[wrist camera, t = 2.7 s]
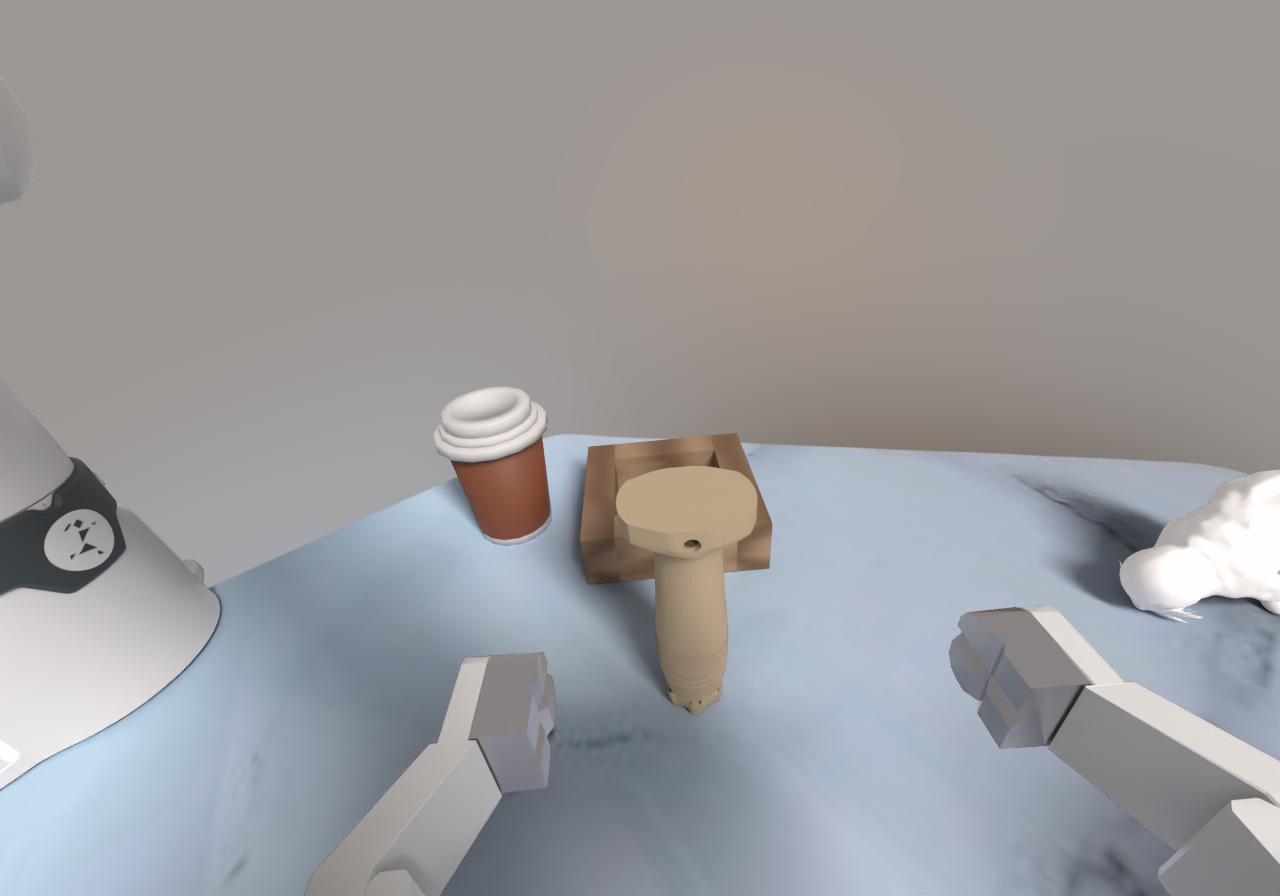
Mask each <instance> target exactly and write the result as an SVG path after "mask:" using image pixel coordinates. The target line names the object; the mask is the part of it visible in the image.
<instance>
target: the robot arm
mask: <svg viewBox="0 0 1280 896" xmlns="http://www.w3.org/2000/svg"><path fill="white" fill-rule="evenodd" d="M35 157H36V152H35V145H34V138H33V135H32V132H31V128H30V125H29V122H28V120H27V117H26V115H25V113H24V111H23V109H22V107H21V105H20V103H19V101H18V100H17V98H16V96H15V95H14V93H13V92H12V90H11V89H10V87H9V86H8V84H7V83H6V82H5V80H4V79H3V78H2V76H1V75H0V207H1V206H4V205H7V204H10V203H14V202H17V201H20V200H22V199H23V197H24V196H25V194H26V193H27V191H28V189H29V187H30V184H31V182H32V179H33V175H34V171H35V161H36V158H35ZM104 485H105V484H104V483H103V481H102V480H101V479H100V478H99V477H98V475H97V474H96V473H92V471H91V470H90V469H89V468H88V467H87V466H86V465H85V464H84V463H83V462H82V461H81V460H79V459H77V458H72V457H68V456H67V454H66V453H65V452H64V451H63V449H62V448H61V447H60V446H59V445H58V443H57V442H56V441H55V440H54V438H53V437H52V436H51V435H50V434H49V432H48V431H47V430H46V428H45V427H44V426H43V425H42V424H41V422H40V421H39V420H38V419H37V417H36V416H35V415H34V414H33V412H32V411H31V410H30V409H29V407H28V406H27V405H26V404H25V402H24V401H23V400H22V399H21V398H20V396H19V395H18V394H17V393H16V391H15V390H14V389H13V388H12V386H11V385H10V384H9V383H8V381H7V380H6V379H5V378H4V376H3V375H2V374H1V373H0V789H1V788H3V787H4V786H6V785H7V784H9V783H10V782H12V781H13V780H15V779H16V778H17V777H19V776H20V775H22V774H23V773H25V772H26V771H27V770H29V769H30V768H32V767H33V766H35V765H36V764H37V763H39V762H41V761H43V760H44V759H46V758H48V757H50V756H52V755H54V754H56V753H57V752H59V751H62V750H64V749H66V748H68V747H70V746H72V745H74V744H76V743H78V742H80V741H82V740H84V739H86V738H88V737H90V736H92V735H94V734H96V733H97V732H99V731H101V730H103V729H105V728H106V727H108V726H110V725H111V724H113V723H115V722H116V721H118V720H120V719H121V718H123V717H124V716H126V715H127V714H129V713H130V712H132V711H133V710H135V709H136V708H138V707H139V706H141V705H142V704H143V703H145V702H146V701H147V700H149V699H150V698H151V697H153V696H154V695H155V694H156V693H158V692H159V691H160V690H161V689H163V688H164V687H165V686H166V685H167V684H169V683H170V682H171V681H172V680H173V679H174V678H175V677H176V676H177V675H178V674H180V673H181V672H182V671H183V670H184V669H185V668H186V667H187V666H188V665H189V664H190V662H191V661H192V660H193V659H194V658H195V657H196V656H197V654H198V653H199V652H200V651H201V650H202V648H203V647H204V646H205V644H206V643H207V641H208V640H209V638H210V637H211V635H212V633H213V631H214V629H215V627H216V625H217V622H218V619H219V615H220V603H219V600H218V598H217V596H216V595H215V594H214V593H213V592H212V591H210V590H209V589H208V588H207V587H206V586H205V585H204V584H203V582H204V570H203V568H202V567H201V566H200V565H199V564H198V563H197V562H196V561H194V560H185V561H182V560H181V559H180V558H179V557H178V556H177V555H176V554H175V553H174V552H173V551H172V550H171V549H170V548H169V547H168V546H167V545H166V544H165V543H164V542H163V541H162V540H161V538H160V537H158V536H157V535H156V534H155V533H154V532H153V531H152V530H151V529H150V528H149V527H148V526H147V525H146V524H145V523H144V522H143V521H142V520H141V519H140V518H139V517H138V516H137V515H136V514H135V513H134V512H133V511H131V510H129V509H127V508H119V507H117V503H116V501H115V499H114V498H113V497H112V496H111V494H110V493H109V492H108V491H107V489H106V488H105V487H104ZM958 627H959V628H960V630H961V631H962V633H961V634H960V635H958V636H957V637H956V638H955V639H953V640H952V643H951V646H950V650H949V656H950V663H951V668H952V670H953V673H954V675H955V678H956V679H957V681H958V683H959V684H960V686H961V688H962V689H963V691H965V692H966V693H968V694H969V695H971V696H972V697H973V698H975V699H976V700H978V711H977V713H978V715H979V717H980V718H981V720H982V721H983V723H984V724H985V726H986V728H987V729H988V731H989V732H990V734H991V736H992V737H993V739H994V740H995V742H996V744H997V745H998V747H999V748H1000V749H1004V748H1021V747H1038V746H1049V747H1048V749H1049V750H1050V751H1051V752H1053V753H1054V754H1055V755H1056V756H1058V757H1059V758H1060V759H1061V760H1063V761H1064V762H1065V763H1066V764H1068V765H1069V766H1070V767H1071V768H1073V769H1074V770H1075V771H1076V772H1078V773H1079V774H1080V775H1081V776H1083V777H1084V778H1085V779H1086V780H1088V781H1089V782H1090V783H1091V784H1093V785H1094V786H1095V787H1096V788H1098V789H1099V790H1100V791H1101V792H1103V793H1104V794H1105V795H1106V796H1108V797H1109V798H1110V799H1111V800H1113V801H1114V802H1115V803H1116V804H1118V805H1119V806H1120V807H1121V808H1123V809H1124V810H1125V811H1126V812H1128V813H1129V814H1130V815H1131V816H1133V817H1134V818H1135V819H1136V820H1138V821H1139V822H1140V823H1141V824H1143V825H1144V826H1145V827H1146V828H1148V829H1149V830H1150V831H1151V832H1153V833H1154V834H1155V835H1156V836H1158V837H1159V838H1160V839H1161V840H1163V841H1164V842H1165V843H1166V844H1168V845H1169V846H1170V847H1171V848H1173V849H1174V850H1175V851H1176V853H1175V854H1174V855H1173V856H1172V857H1171V858H1170V859H1169V860H1168V861H1166V862H1165V863H1164V864H1163V865H1162V866H1161V867H1160V868H1159V873H1158V879H1159V880H1160V882H1161V883H1162V885H1163V886H1164V887H1165V889H1166V890H1167V892H1168V893H1169V894H1170V896H1280V761H1278V760H1276V759H1274V758H1272V757H1270V756H1269V755H1267V754H1265V753H1263V752H1261V751H1259V750H1258V749H1256V748H1254V747H1252V746H1250V745H1248V744H1247V743H1245V742H1243V741H1241V740H1239V739H1237V738H1236V737H1234V736H1232V735H1230V734H1228V733H1226V732H1225V731H1223V730H1221V729H1219V728H1217V727H1215V726H1214V725H1212V724H1210V723H1208V722H1206V721H1204V720H1203V719H1201V718H1199V717H1197V716H1195V715H1193V714H1192V713H1190V712H1188V711H1186V710H1184V709H1182V708H1181V707H1179V706H1177V705H1175V704H1173V703H1171V702H1170V701H1168V700H1166V699H1164V698H1162V697H1160V696H1159V695H1157V694H1155V693H1153V692H1151V691H1149V690H1148V689H1146V688H1144V687H1142V686H1140V685H1138V684H1137V683H1135V682H1124V681H1123V680H1122V679H1121V678H1120V677H1119V676H1118V675H1117V674H1116V672H1115V671H1114V670H1113V669H1112V668H1111V667H1110V666H1109V665H1108V664H1107V663H1106V662H1105V661H1104V660H1103V659H1102V657H1101V656H1100V655H1099V654H1098V653H1097V652H1096V651H1095V650H1094V649H1093V648H1092V647H1091V646H1090V645H1089V644H1088V643H1087V641H1086V640H1085V639H1084V638H1083V637H1082V636H1081V635H1080V634H1079V633H1078V632H1077V631H1076V630H1075V629H1074V628H1073V626H1072V625H1071V624H1070V623H1069V622H1068V621H1067V620H1066V619H1065V618H1064V617H1063V616H1062V615H1061V614H1060V613H1059V612H1058V611H1057V610H1056V609H1054V608H1053V607H1051V606H1049V605H1039V606H1030V607H1021V608H1017V607H1012V608H1003V609H994V610H984V611H975V612H967V613H965V614H964V615H962V616H961V617H960V620H959V623H958ZM546 670H547V660H546V657H545V654H544V652H537V653H522V654H508V655H493V656H492V655H491V656H480V657H468V658H465V660H464V661H463V663H462V665H461V666H460V669H459V672H458V675H457V679H456V682H455V685H454V689H453V692H452V695H451V699H450V702H449V705H448V709H447V712H446V715H445V719H444V722H443V725H442V729H441V732H440V735H439V739H438V742H437V743H433V744H429V745H428V746H427V747H426V748H425V749H424V750H423V751H422V753H421V754H420V755H419V756H418V757H417V758H416V759H415V760H414V762H413V763H412V764H411V765H410V766H409V767H408V768H407V769H406V770H405V772H404V773H403V774H402V775H401V776H400V777H399V778H398V779H397V781H396V782H395V783H394V784H393V785H392V786H391V787H390V788H389V789H388V791H387V792H386V793H385V794H384V795H383V796H382V797H381V798H380V799H379V801H378V802H377V803H376V804H375V805H374V806H373V807H372V808H371V810H370V811H369V812H368V813H367V814H366V815H365V816H364V817H363V818H362V820H361V821H360V822H359V823H358V824H357V825H356V826H355V827H354V829H353V830H352V831H351V832H350V833H349V834H348V835H347V836H346V837H345V839H344V840H343V841H342V842H341V843H340V844H339V845H338V846H337V847H336V849H335V850H334V851H333V852H332V853H331V854H330V855H329V856H328V858H327V859H326V860H325V861H324V862H323V863H322V864H321V865H320V866H319V868H318V869H317V870H316V871H315V872H314V873H313V874H312V877H311V879H310V882H309V884H308V886H307V889H306V891H305V894H304V896H440V895H441V893H442V892H443V890H444V889H445V887H446V885H447V884H448V882H449V881H450V879H451V877H452V876H453V874H454V873H455V871H456V869H457V868H458V866H459V865H460V863H461V861H462V860H463V858H464V857H465V855H466V853H467V852H468V850H469V849H470V847H471V845H472V844H473V842H474V841H475V839H476V837H477V836H478V834H479V833H480V831H481V829H482V828H483V826H484V825H485V823H486V821H487V820H488V818H489V817H490V815H491V813H492V812H493V810H494V809H495V807H496V805H497V804H498V802H499V801H500V799H501V797H502V794H501V793H507V792H516V791H524V790H533V789H542V788H547V784H548V776H549V767H550V758H551V748H550V745H549V742H548V739H547V735H548V734H549V733H550V731H551V730H552V729H553V727H554V721H555V689H554V683H553V680H552V677H551V676H550V675H548V674H547V673H546Z"/></svg>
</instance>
